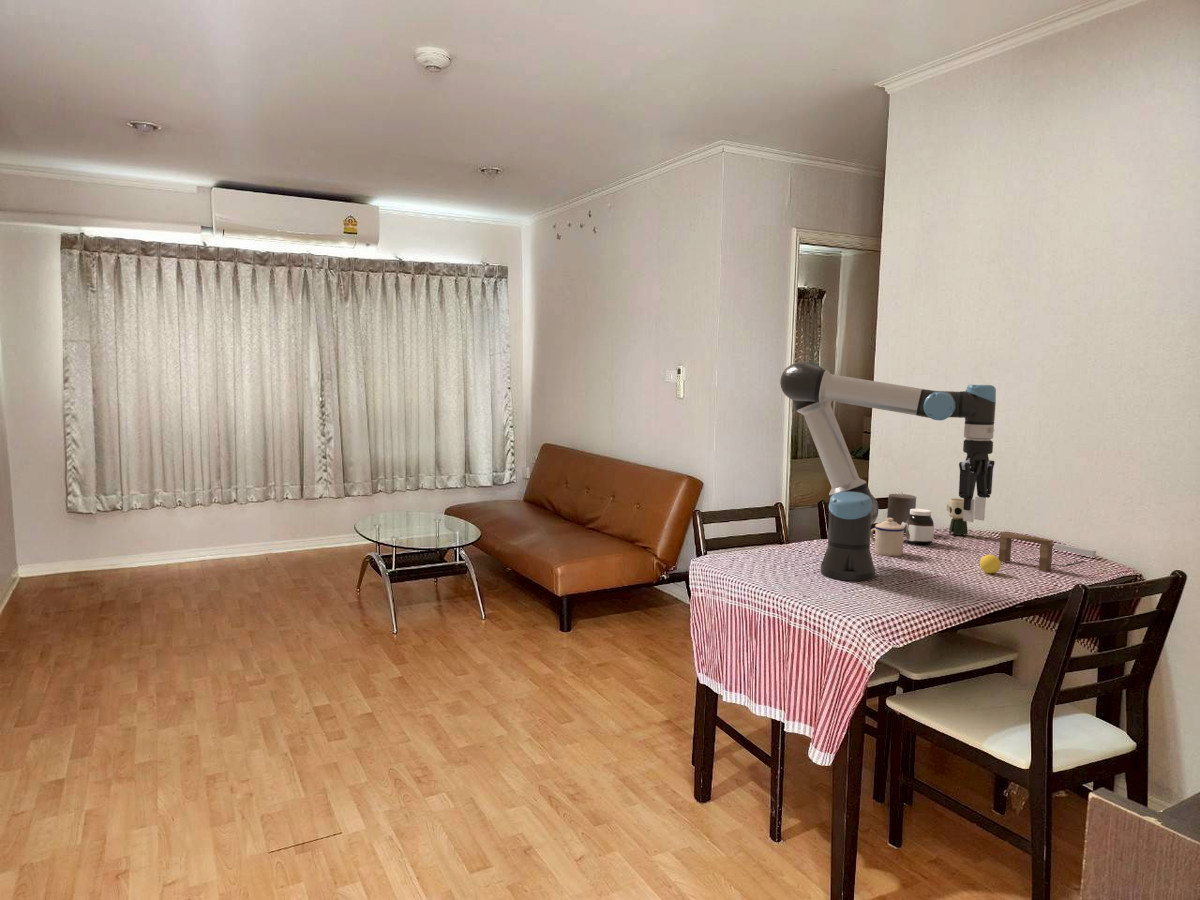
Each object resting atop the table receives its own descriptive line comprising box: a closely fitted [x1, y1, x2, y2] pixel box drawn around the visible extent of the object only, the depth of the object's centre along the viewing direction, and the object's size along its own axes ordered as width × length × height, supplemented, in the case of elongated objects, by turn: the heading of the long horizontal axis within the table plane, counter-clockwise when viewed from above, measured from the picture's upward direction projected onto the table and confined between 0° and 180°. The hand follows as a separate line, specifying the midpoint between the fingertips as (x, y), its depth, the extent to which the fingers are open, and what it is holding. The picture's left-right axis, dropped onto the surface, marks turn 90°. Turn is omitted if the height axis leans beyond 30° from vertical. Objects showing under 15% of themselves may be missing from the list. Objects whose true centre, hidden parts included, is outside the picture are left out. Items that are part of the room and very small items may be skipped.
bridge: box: [998, 531, 1054, 572], centre depth 234 cm, size 3×14×9 cm, turn 31°
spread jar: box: [901, 508, 935, 546], centre depth 266 cm, size 12×11×12 cm
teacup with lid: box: [870, 518, 905, 557], centre depth 250 cm, size 12×9×12 cm
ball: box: [979, 554, 1002, 575], centre depth 225 cm, size 6×6×6 cm
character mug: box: [946, 498, 968, 536], centre depth 279 cm, size 11×7×13 cm, turn 27°
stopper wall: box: [1053, 543, 1097, 558], centre depth 250 cm, size 2×12×2 cm, turn 31°
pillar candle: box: [886, 492, 917, 533], centre depth 283 cm, size 10×10×15 cm
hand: (973, 520), depth 219 cm, fingers open, 4 cm apart
